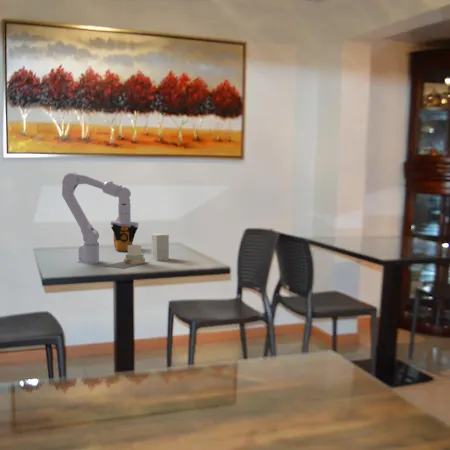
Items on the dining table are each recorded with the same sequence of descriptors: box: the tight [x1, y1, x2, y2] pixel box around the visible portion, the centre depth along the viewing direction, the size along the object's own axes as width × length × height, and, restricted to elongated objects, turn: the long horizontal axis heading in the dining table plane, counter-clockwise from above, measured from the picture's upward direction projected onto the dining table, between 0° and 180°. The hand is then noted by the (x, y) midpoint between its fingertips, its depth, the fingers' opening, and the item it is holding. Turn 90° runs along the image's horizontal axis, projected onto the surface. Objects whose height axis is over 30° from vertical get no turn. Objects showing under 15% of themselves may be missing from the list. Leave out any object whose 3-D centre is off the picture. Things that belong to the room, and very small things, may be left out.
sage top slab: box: [125, 253, 145, 260], centre depth 279 cm, size 6×6×2 cm
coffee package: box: [113, 217, 133, 252], centre depth 320 cm, size 10×12×22 cm
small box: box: [151, 232, 170, 262], centre depth 290 cm, size 8×6×13 cm
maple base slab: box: [123, 257, 146, 265], centre depth 279 cm, size 7×7×2 cm
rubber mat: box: [103, 260, 151, 270], centre depth 275 cm, size 13×20×1 cm, turn 150°
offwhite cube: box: [127, 243, 142, 256], centre depth 279 cm, size 4×4×4 cm
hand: (124, 241), depth 281 cm, fingers open, 7 cm apart
